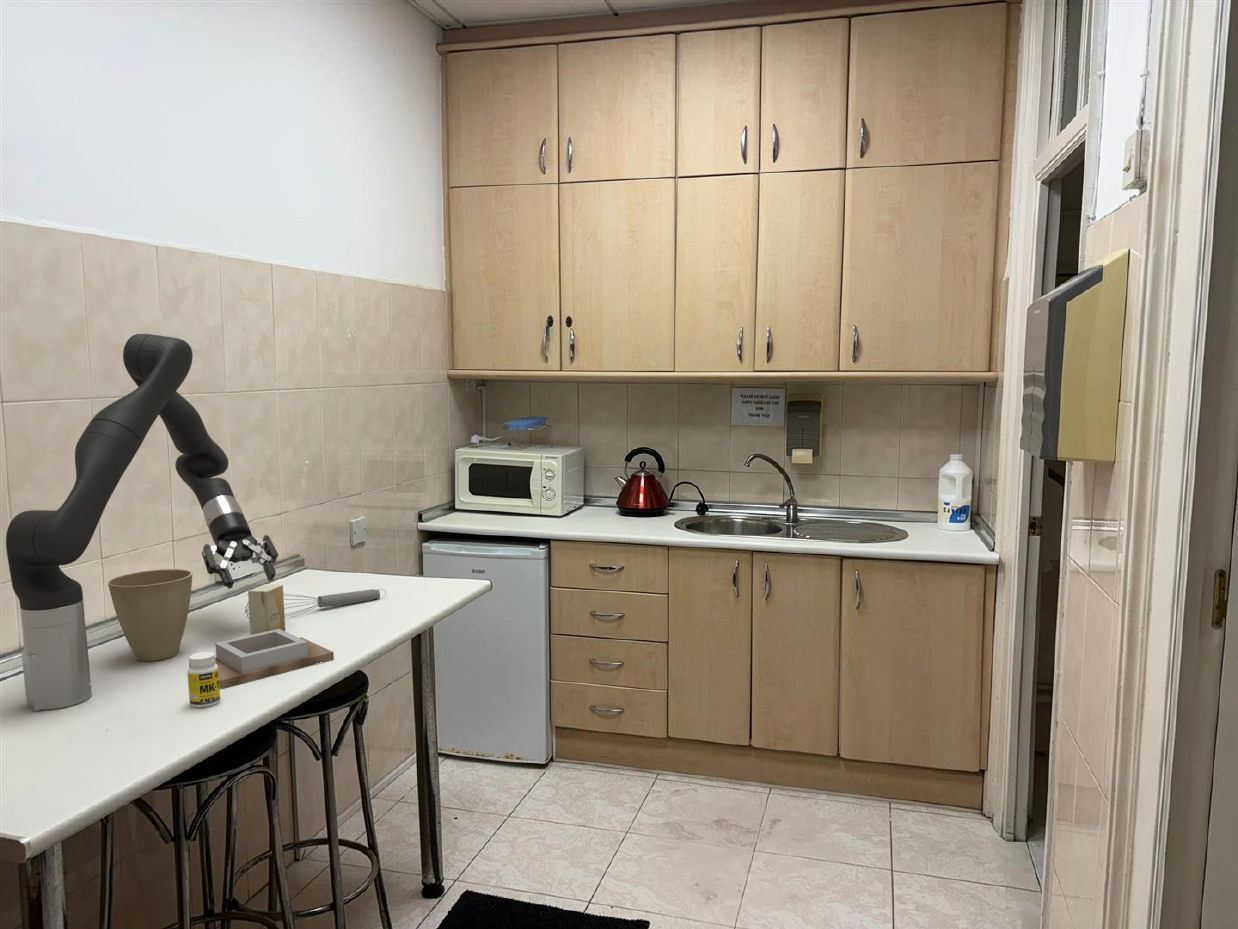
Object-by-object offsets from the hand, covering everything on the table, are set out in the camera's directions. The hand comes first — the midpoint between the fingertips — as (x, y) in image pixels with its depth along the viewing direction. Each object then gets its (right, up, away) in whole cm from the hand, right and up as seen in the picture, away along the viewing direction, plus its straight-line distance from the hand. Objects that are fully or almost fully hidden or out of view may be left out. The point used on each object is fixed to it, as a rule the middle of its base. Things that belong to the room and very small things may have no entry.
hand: (251, 582), depth 191 cm
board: (+8, -14, -15) cm, 22 cm away
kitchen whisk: (+6, -10, +23) cm, 26 cm away
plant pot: (-16, -14, -8) cm, 22 cm away
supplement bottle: (+6, -16, -34) cm, 38 cm away
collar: (+8, -12, -15) cm, 21 cm away
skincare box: (+5, -13, -3) cm, 14 cm away
